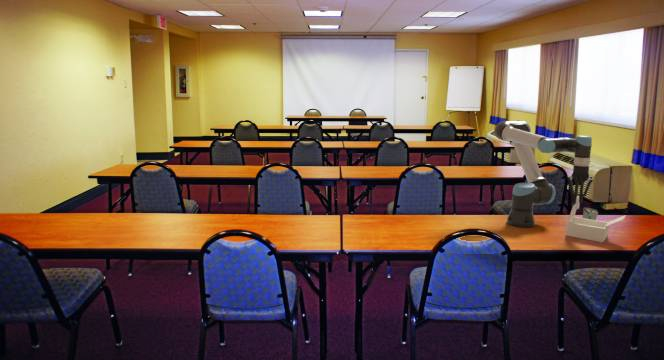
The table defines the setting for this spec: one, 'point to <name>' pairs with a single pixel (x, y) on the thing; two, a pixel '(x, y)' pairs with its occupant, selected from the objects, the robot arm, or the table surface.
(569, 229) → the carton
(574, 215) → the flap
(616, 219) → the flap
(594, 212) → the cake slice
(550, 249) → the table surface
